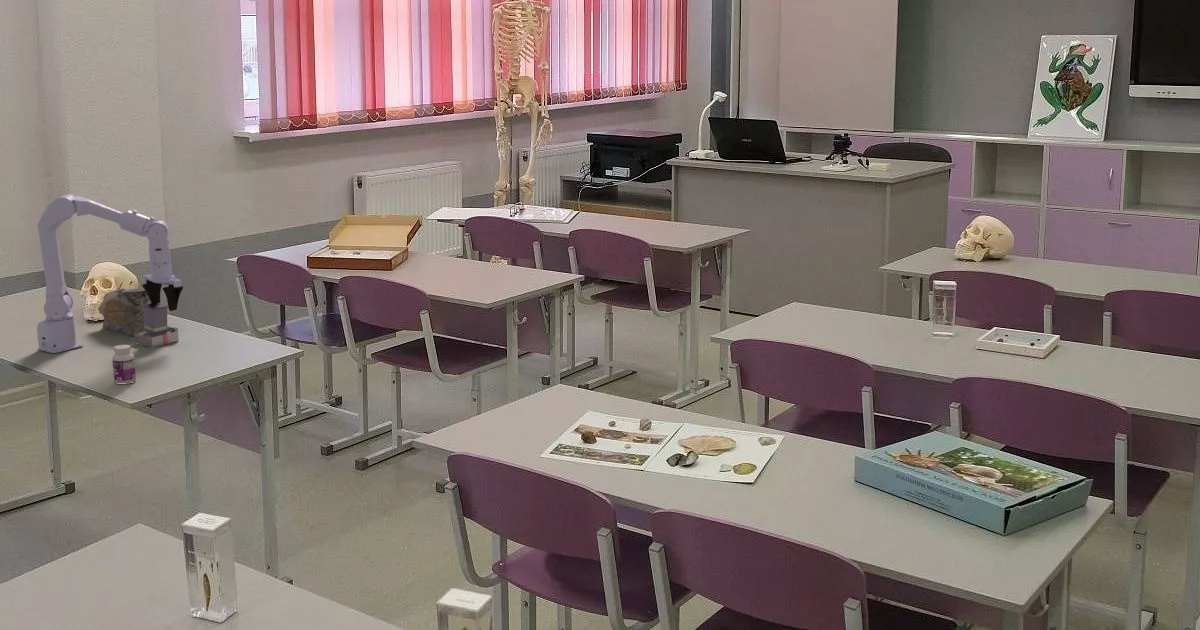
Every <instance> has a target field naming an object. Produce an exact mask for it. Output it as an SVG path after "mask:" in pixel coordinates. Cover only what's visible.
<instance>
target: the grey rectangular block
mask: <svg viewBox="0 0 1200 630" xmlns="http://www.w3.org/2000/svg"><path fill="white" fill-rule="evenodd" d="M168 309H169V308H168V304H167V305H166V304H164V303H161V302H160V303H158V302H156V303H151V304H147V305H144V310H145V325H144V328H145V332H148V333H150V334H153V335H157V334H161V333H165V332H167V329H168V326H169V325H168Z"/></svg>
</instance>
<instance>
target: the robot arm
mask: <svg viewBox="0 0 1200 630" xmlns="http://www.w3.org/2000/svg"><path fill="white" fill-rule="evenodd" d="M138 212H139V211H138V210H136V209H133V210H126V211H123V212H121V211H119V210H117V209H114V208H113V207H109V206H107V205H104V204H102V203H99V202H96V201H94V200H92V199H89V198H87V197H84V196H80V195H74V194H73V193H69V192H67V193H66V192H65V193H61V194H60V195H59V196H58V197H56V198H55V199H54V200H53V201H52V202H50V203H49V204H48V205H47V206H46V208H45V209H44V212H43V213H42V214H41V217H40V219H39V220H38V223H37V229H38V230H37V231H38V236H39V243H40V250H41V258H42V263H43V264H42V265H43V272H44V279H45V285H46V289H45V303H44V304H43V305H44V306H43V311H44V314H45V315H46V316H45V320H43V321H40V322H39V323H37V327H36V331H37V332H36V333H37V342H38V347H37V350H38V351H41V352H42V351H43V352H46V353H49V354H50V353H51V354H57V353H61V352H62V353H63V352H65V351H70V350H73V349H78V348H83V346H84V344H83V343H77V335H76V330H75V329H76V325H75V318H74V314H73V312H72V311H71V309H72V308H73V305H74V301H73V297H72V296H71V295H70V293H69V289H68V286H67V284H66V281H65V273H64V272H65V271H64V267H63V259H62V258H63V257H62V252H61V245H60V238H59V231H58V230H59V229H58V228H59V227H60V226H61V225H62V224H63V223H65V222H66V221H68V220H69V219H71V218H72V217H73V216H74V215H75V214H76V217H81V216H86V215H91V216H94V217H98V218H101V219H104V220H107V221H111V222H113V223H115V224H118V226H119V227H120V229H121V230H123V231H126V232H129V233H132V234H134V235H138V236H139V237H146V239H147V240H148V245H149V246H148V256H149V266H150V273H149V274H148V273H147V274H143V276H142V277H143V282H144V283H143V284H142V289H145V291H146V292H147V294H148V296H149V299H150V301H151V303H156V302H158V303H161V292H164V294H165V296H166V302H167V306H168V308H167V309H168V310H169V312H172V311H176V310H177V308H178V304H179V299H180V296H181V293H182V291H183V290H184V286H183V285H182V280H181V279H180V278H177V277H176V275H175V274H173V270H172V259H171V258H172V257H171V246H170V240H169V233H170V227H169V225H168V223H166V222H165V221H164V220H162V219H161V218H160V219H159V218H157V219H155V217H153V216H150V217H148V216H146V215H144V214H141V213H138ZM163 285H164V286H165V287H162V286H163ZM161 290H163V291H161Z"/></svg>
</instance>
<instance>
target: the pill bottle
mask: <svg viewBox="0 0 1200 630" xmlns="http://www.w3.org/2000/svg"><path fill="white" fill-rule="evenodd" d="M131 347H132V346H131V345H130V344H118V345H115V346H114V347H113V350H114V351H113V352H114V354H113V355H112V357H111V360H112V361H111V362H112V371H113V380H114V384H116V383H131V382H134V381H135V382H136V381H137V374H136V373H137V372H136V362H135V355H134V354H133V353H132V348H131ZM135 382H134V383H135Z"/></svg>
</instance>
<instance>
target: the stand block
mask: <svg viewBox="0 0 1200 630" xmlns="http://www.w3.org/2000/svg"><path fill="white" fill-rule="evenodd" d="M133 337H134V344H135V343H138V344H137V345H139V344H142V345H141V346H143V345H146V346H145V347H147V346H150V347H149V348H152V347H154V348H157V346H158V347H161V346H165V345H169V344H173V343H177V342H179V340H180V338H179V327H175V326H170V325H168V329H167V332H165V333H161V334H157V335H153V334H150V333H148V332H145V331H143V332H139V333H135V334H134V336H133ZM160 345H161V346H160Z"/></svg>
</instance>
